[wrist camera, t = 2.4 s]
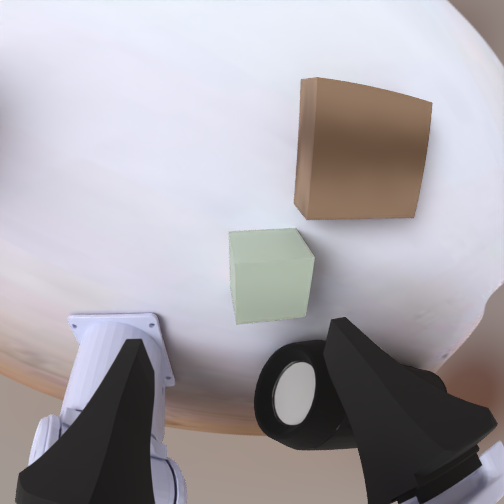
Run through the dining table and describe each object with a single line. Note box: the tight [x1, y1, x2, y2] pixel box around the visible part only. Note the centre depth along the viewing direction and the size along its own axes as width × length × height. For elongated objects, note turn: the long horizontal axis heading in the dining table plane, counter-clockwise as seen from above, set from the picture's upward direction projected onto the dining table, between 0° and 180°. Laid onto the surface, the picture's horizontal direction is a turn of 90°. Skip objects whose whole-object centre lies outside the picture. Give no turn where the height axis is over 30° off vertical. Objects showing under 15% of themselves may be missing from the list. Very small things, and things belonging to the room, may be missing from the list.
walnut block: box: [294, 77, 432, 220], centre depth 16 cm, size 8×8×3 cm
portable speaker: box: [254, 340, 447, 450], centre depth 26 cm, size 26×10×10 cm, turn 58°
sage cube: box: [229, 228, 315, 325], centre depth 19 cm, size 4×4×4 cm
